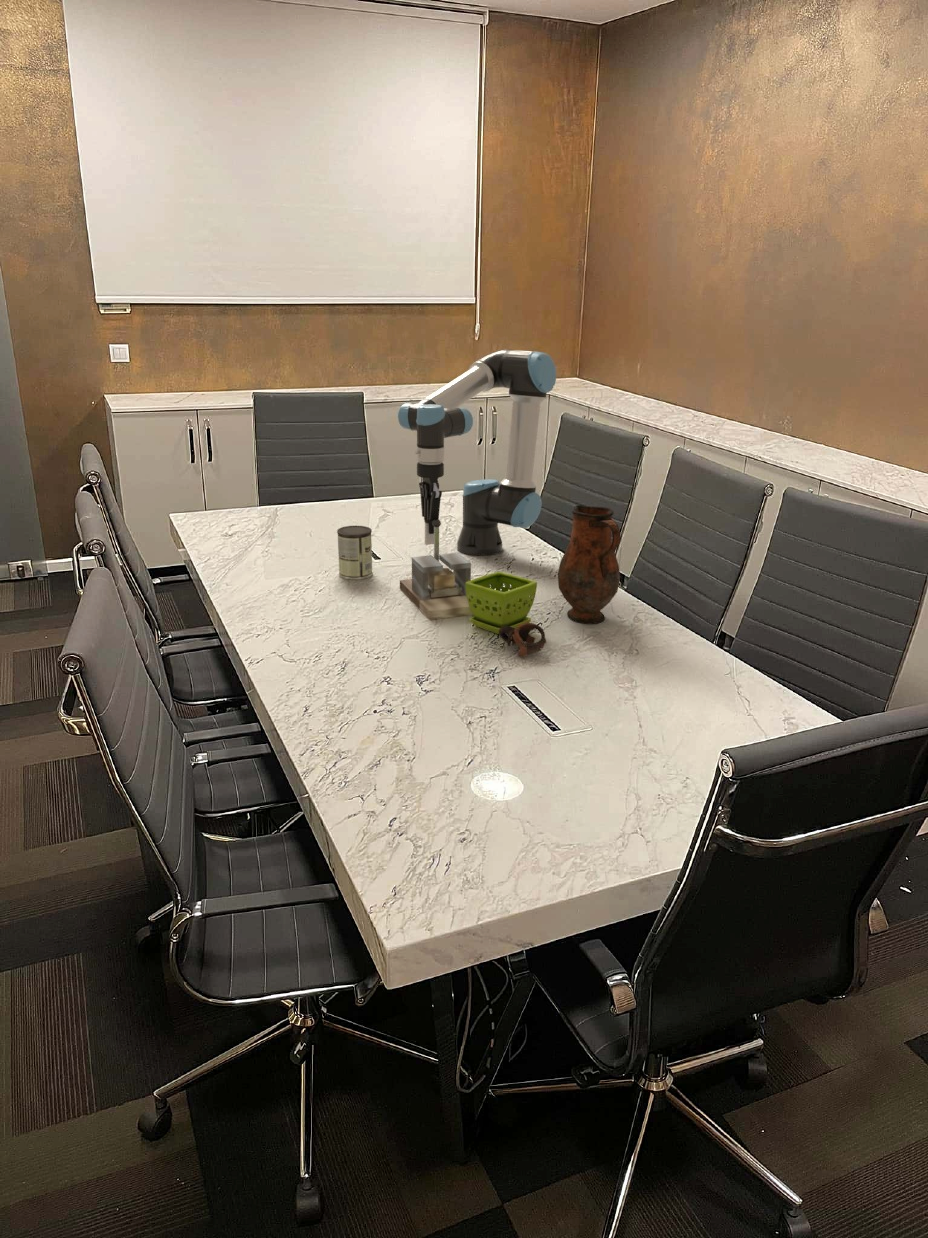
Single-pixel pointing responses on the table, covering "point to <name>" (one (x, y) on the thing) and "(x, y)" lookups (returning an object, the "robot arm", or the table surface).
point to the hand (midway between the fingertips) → (430, 543)
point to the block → (441, 579)
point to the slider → (445, 591)
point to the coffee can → (355, 552)
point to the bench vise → (419, 586)
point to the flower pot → (500, 600)
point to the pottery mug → (523, 638)
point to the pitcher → (590, 564)
